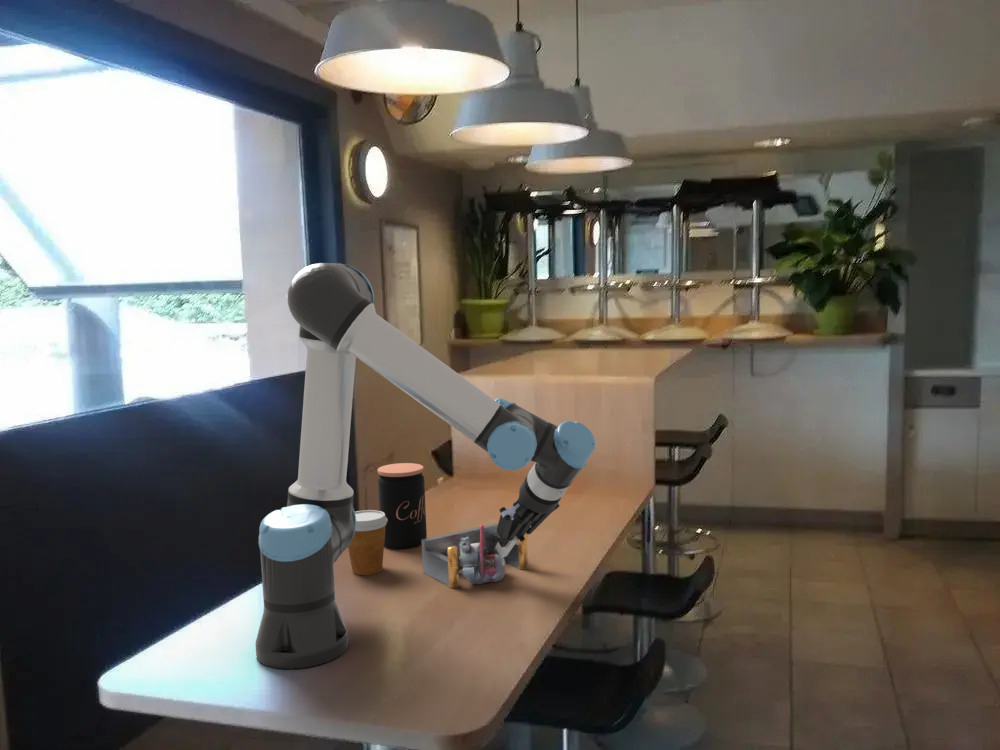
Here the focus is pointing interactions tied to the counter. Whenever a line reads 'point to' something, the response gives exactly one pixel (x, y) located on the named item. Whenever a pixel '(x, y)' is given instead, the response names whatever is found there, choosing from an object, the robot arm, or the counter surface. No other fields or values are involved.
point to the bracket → (445, 550)
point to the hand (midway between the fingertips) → (500, 551)
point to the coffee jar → (403, 504)
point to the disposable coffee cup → (368, 542)
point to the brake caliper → (480, 561)
